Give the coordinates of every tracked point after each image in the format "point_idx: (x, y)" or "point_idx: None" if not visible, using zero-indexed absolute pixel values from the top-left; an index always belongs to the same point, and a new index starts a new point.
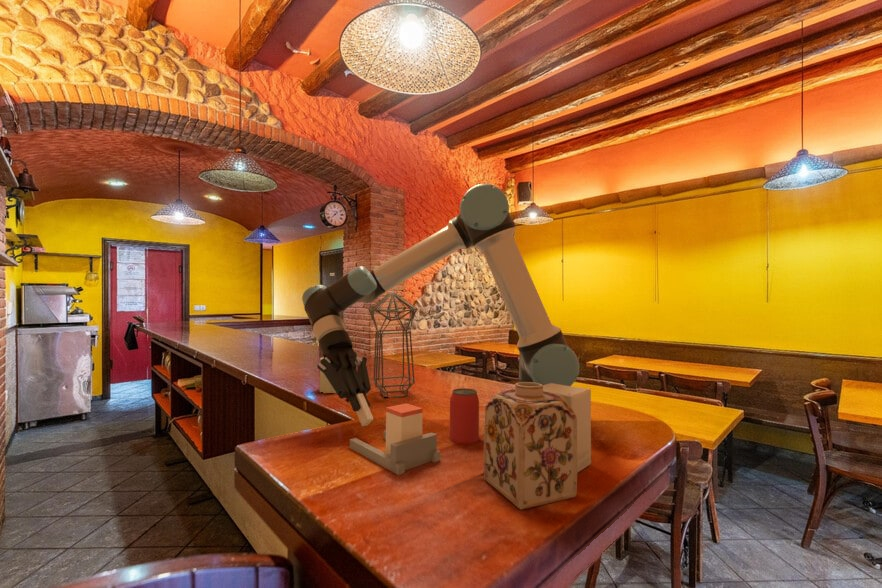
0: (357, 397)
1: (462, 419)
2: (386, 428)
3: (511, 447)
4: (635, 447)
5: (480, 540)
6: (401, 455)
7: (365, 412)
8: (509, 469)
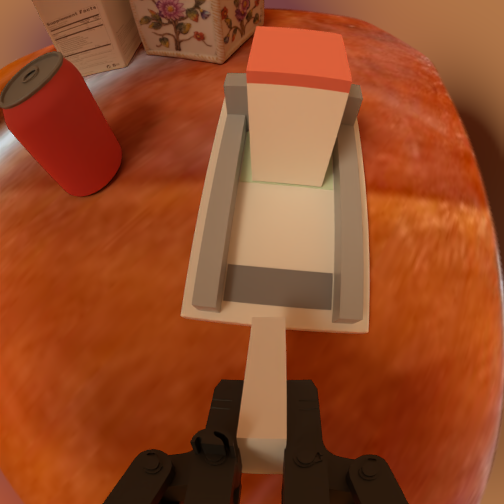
0: (287, 428)
1: (95, 101)
2: (337, 131)
3: None
4: (32, 60)
5: (338, 30)
6: None
7: (282, 342)
8: (251, 2)
